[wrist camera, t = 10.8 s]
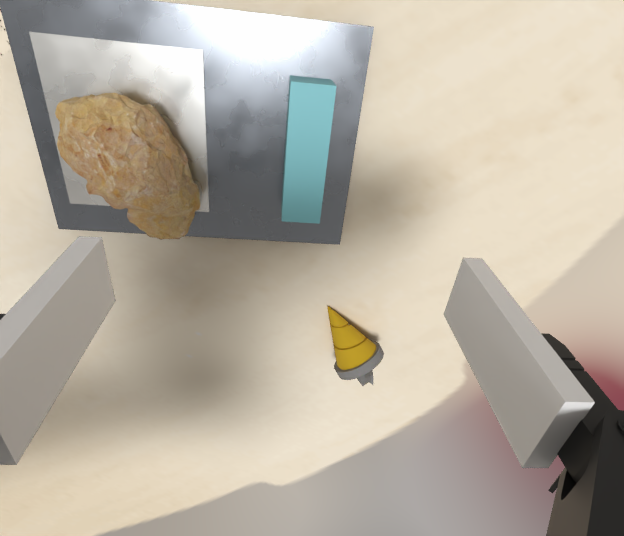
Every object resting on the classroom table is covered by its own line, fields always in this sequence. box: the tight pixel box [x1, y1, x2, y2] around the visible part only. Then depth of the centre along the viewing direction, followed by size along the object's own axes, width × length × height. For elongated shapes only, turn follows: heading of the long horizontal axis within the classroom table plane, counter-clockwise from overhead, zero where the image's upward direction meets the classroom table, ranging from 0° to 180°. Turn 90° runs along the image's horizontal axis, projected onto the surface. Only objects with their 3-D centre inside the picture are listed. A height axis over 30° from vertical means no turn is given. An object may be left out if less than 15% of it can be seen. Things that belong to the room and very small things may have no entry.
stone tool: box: [55, 93, 200, 239], centre depth 29 cm, size 9×7×10 cm
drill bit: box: [328, 306, 384, 386], centre depth 42 cm, size 5×5×10 cm
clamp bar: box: [281, 75, 336, 224], centre depth 30 cm, size 3×10×3 cm, turn 174°
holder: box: [0, 0, 374, 244], centre depth 31 cm, size 24×17×1 cm
